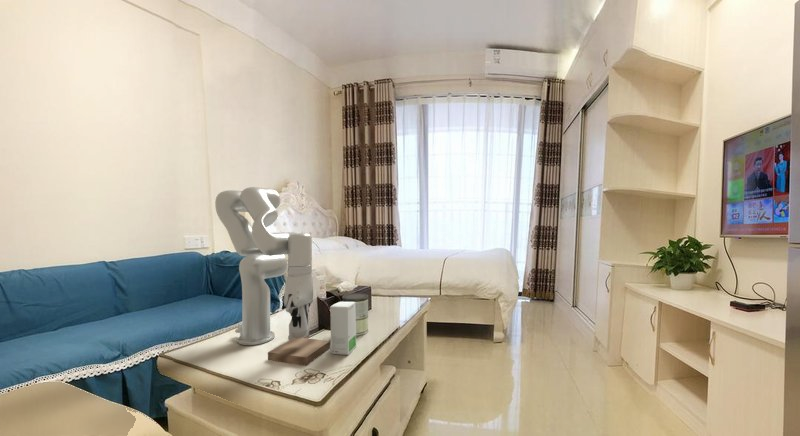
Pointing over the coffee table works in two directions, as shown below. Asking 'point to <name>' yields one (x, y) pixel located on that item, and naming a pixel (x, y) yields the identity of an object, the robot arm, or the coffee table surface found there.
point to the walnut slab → (299, 351)
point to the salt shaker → (302, 331)
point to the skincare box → (343, 328)
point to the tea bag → (302, 337)
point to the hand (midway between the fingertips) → (300, 326)
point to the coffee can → (359, 311)
